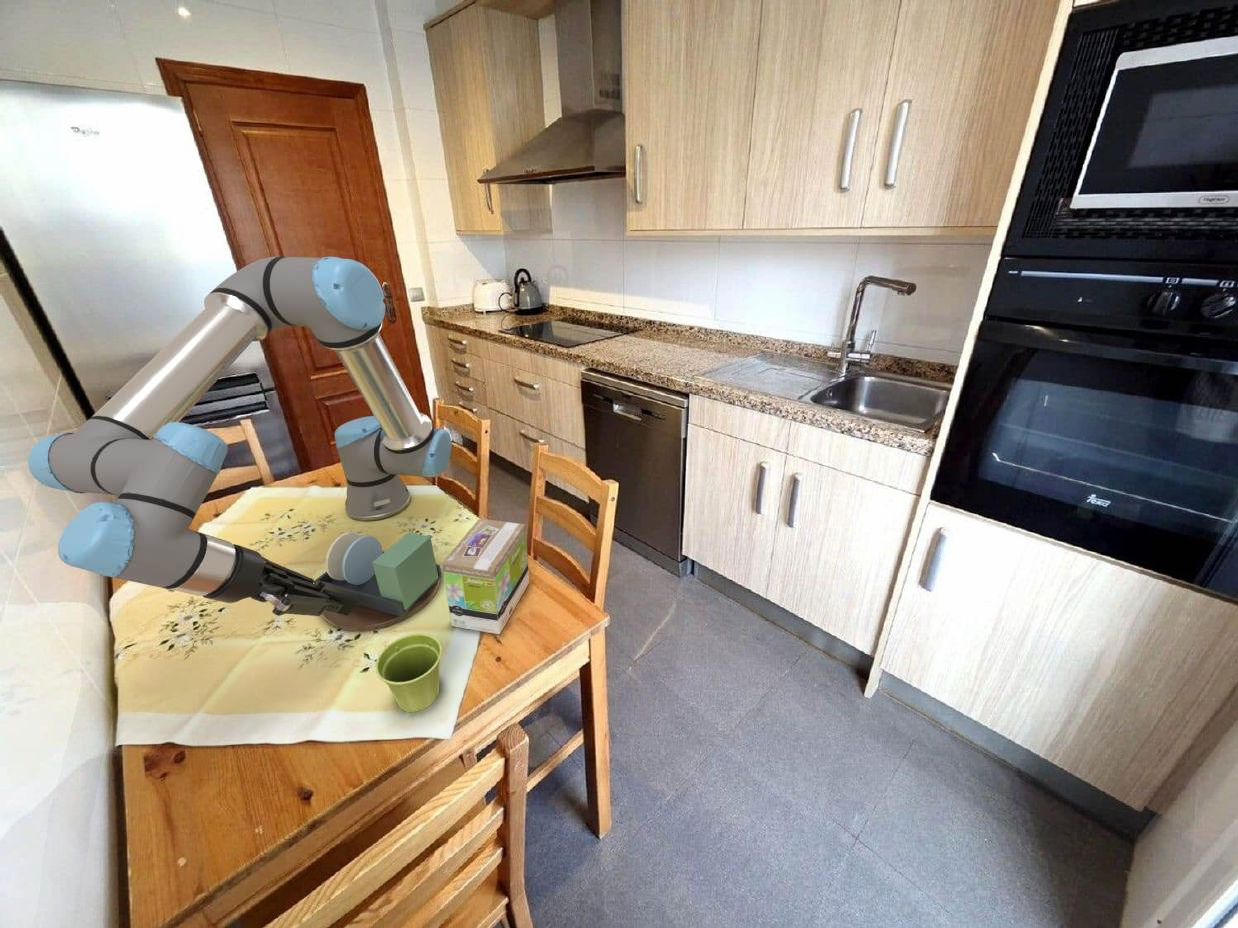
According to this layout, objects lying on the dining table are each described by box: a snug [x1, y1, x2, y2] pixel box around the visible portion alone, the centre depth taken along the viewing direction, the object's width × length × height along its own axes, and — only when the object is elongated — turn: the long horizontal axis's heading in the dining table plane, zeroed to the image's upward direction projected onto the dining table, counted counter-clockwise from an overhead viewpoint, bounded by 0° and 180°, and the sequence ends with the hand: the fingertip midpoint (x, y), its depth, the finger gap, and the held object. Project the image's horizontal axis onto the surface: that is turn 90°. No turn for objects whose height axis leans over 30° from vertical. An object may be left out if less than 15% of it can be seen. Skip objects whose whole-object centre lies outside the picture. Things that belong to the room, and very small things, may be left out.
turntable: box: [321, 579, 441, 632], centre depth 101 cm, size 22×22×1 cm
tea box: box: [441, 517, 530, 635], centre depth 94 cm, size 15×10×15 cm, turn 168°
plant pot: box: [374, 633, 443, 713], centre depth 77 cm, size 9×9×9 cm
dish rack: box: [313, 531, 443, 617], centre depth 98 cm, size 20×12×11 cm, turn 72°
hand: (351, 606), depth 87 cm, fingers closed
